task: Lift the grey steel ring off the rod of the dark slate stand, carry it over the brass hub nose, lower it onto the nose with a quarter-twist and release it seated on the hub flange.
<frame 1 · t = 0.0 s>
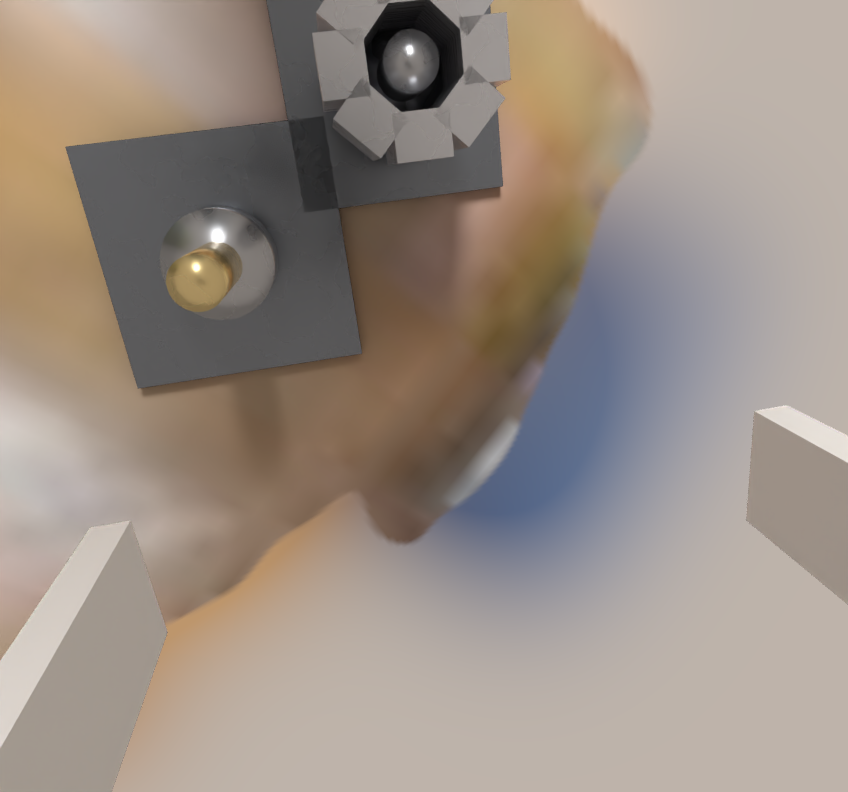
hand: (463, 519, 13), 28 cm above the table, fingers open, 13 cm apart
hub: (227, 257, 37), on the table
stand: (390, 89, 35), on the table
ring: (401, 75, 30), point 6 cm above the table, touching stand
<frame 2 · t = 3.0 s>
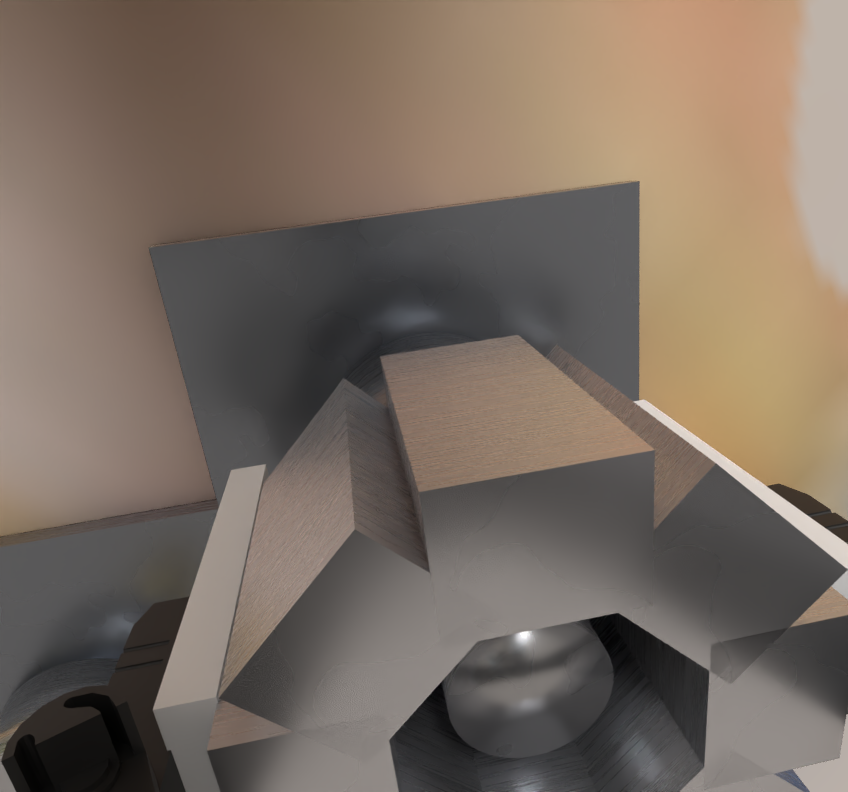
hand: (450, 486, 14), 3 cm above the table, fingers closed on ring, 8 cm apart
hub: (112, 721, 19), on the table
stand: (428, 430, 18), on the table
ring: (470, 536, 12), point 6 cm above the table, touching gripper, stand
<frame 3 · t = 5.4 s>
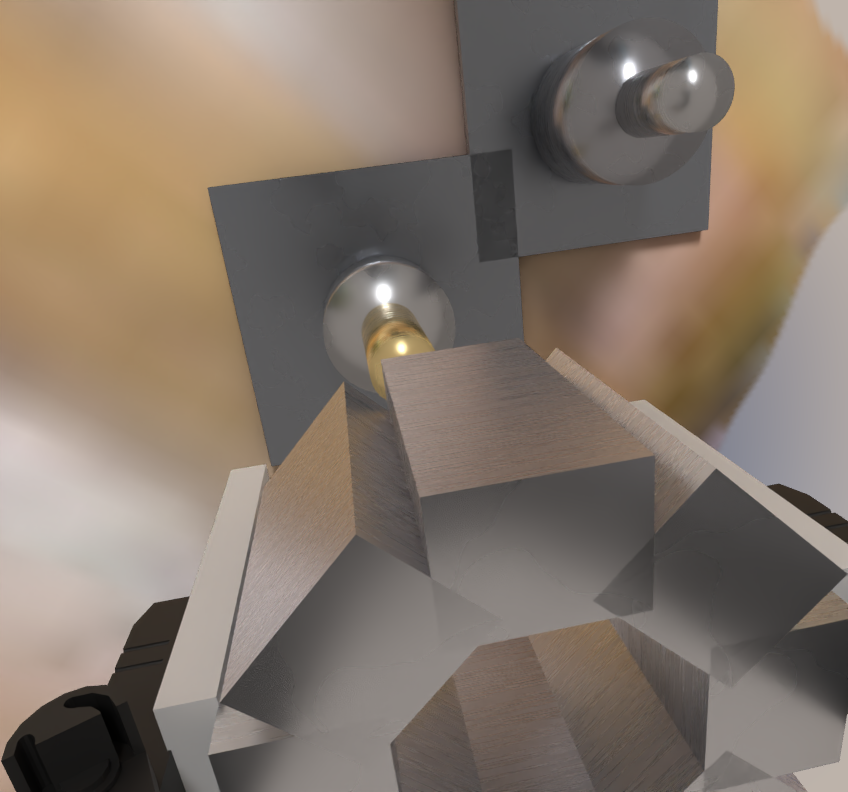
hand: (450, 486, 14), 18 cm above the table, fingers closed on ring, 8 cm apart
hub: (383, 314, 31), on the table
stand: (588, 116, 30), on the table
ring: (471, 539, 12), point 20 cm above the table, touching gripper
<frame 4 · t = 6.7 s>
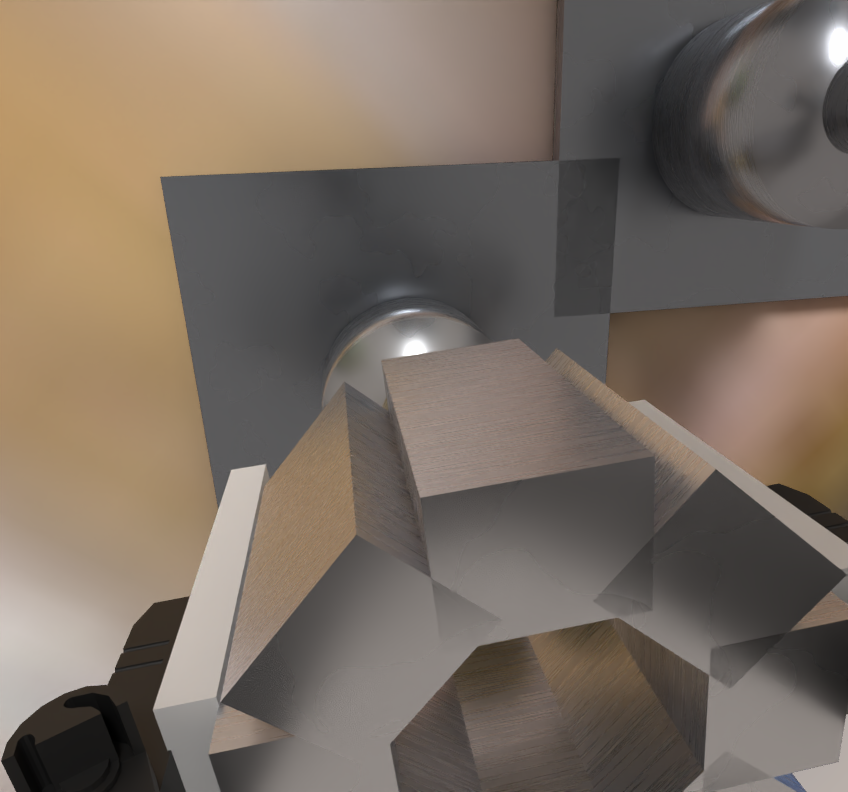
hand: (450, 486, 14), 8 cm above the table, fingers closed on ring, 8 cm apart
hub: (409, 379, 22), on the table
stand: (729, 120, 20), on the table
ring: (470, 539, 12), point 10 cm above the table, touching gripper
when the fingers open (4 cm above the table, at t = 7.8 s): ring drops 3 cm, resting on hub.
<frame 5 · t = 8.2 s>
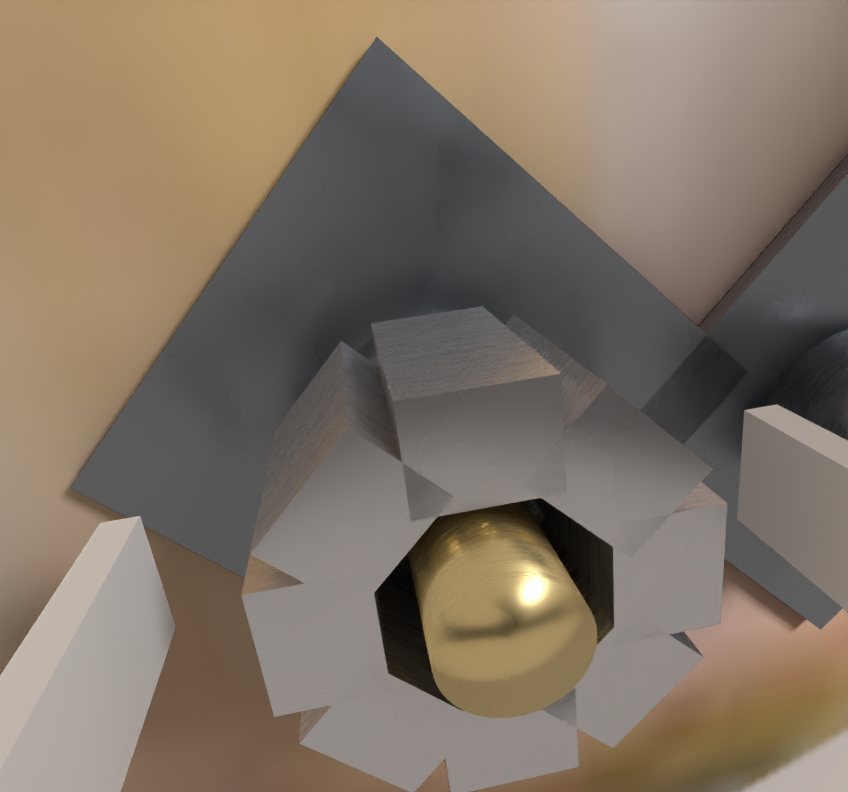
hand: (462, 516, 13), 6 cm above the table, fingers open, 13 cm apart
hub: (424, 419, 18), on the table
stand: (833, 410, 20), on the table
ring: (446, 475, 15), point 4 cm above the table, touching hub
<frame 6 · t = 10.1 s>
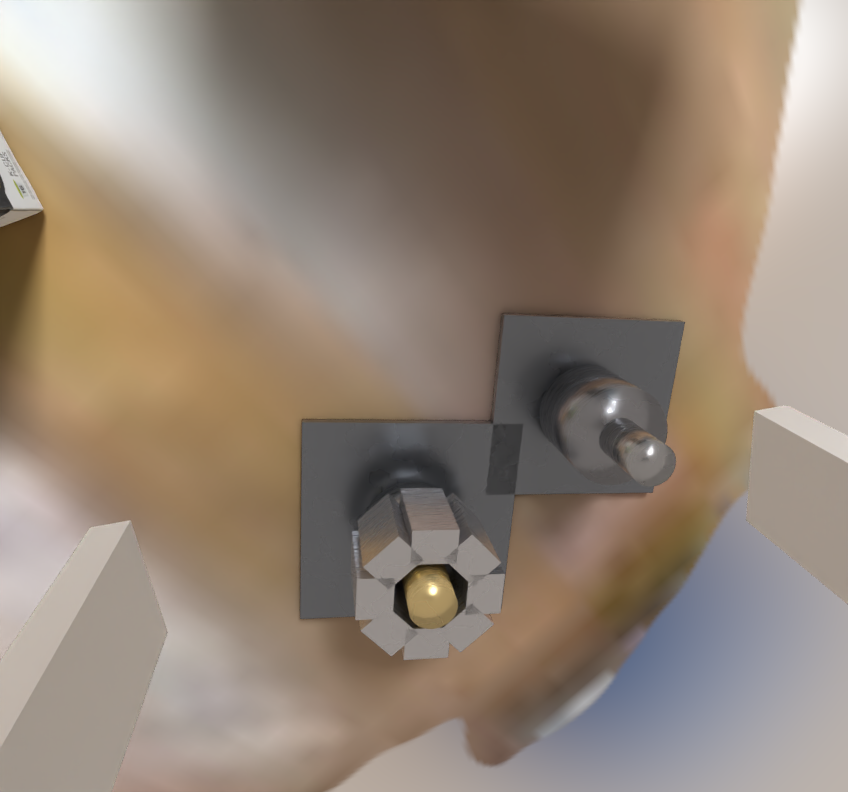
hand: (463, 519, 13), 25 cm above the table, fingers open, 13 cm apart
hub: (408, 519, 41), on the table
stand: (580, 407, 41), on the table
ring: (416, 547, 38), point 4 cm above the table, touching hub
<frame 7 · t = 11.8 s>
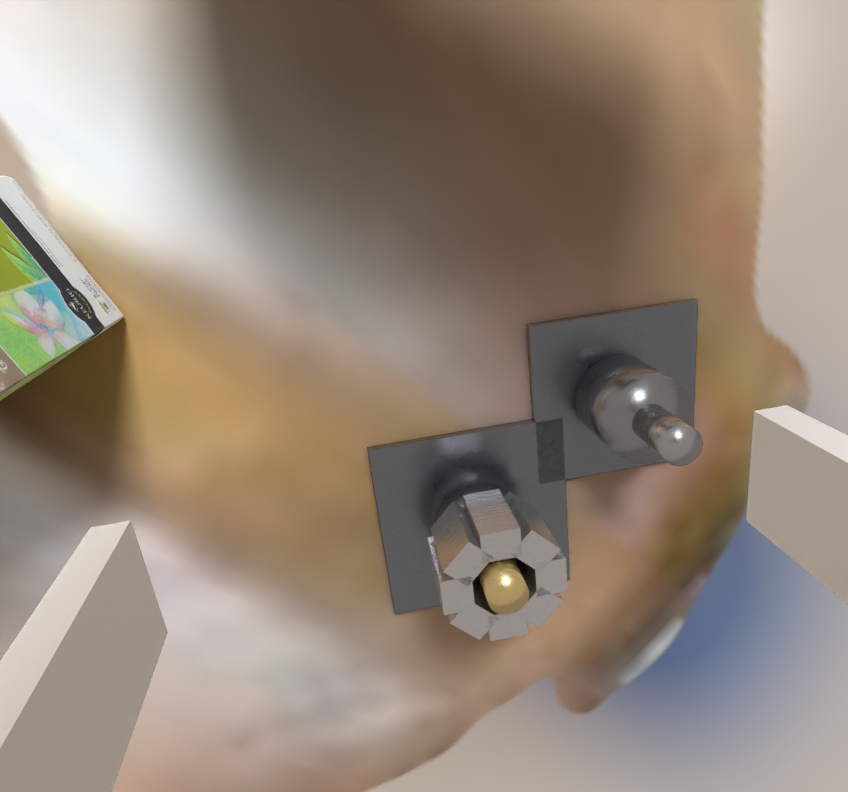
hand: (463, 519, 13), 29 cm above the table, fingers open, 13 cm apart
hub: (473, 515, 47), on the table
stand: (612, 392, 45), on the table
ring: (485, 542, 43), point 4 cm above the table, touching hub
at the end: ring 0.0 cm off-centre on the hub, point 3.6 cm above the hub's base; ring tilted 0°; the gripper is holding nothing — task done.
